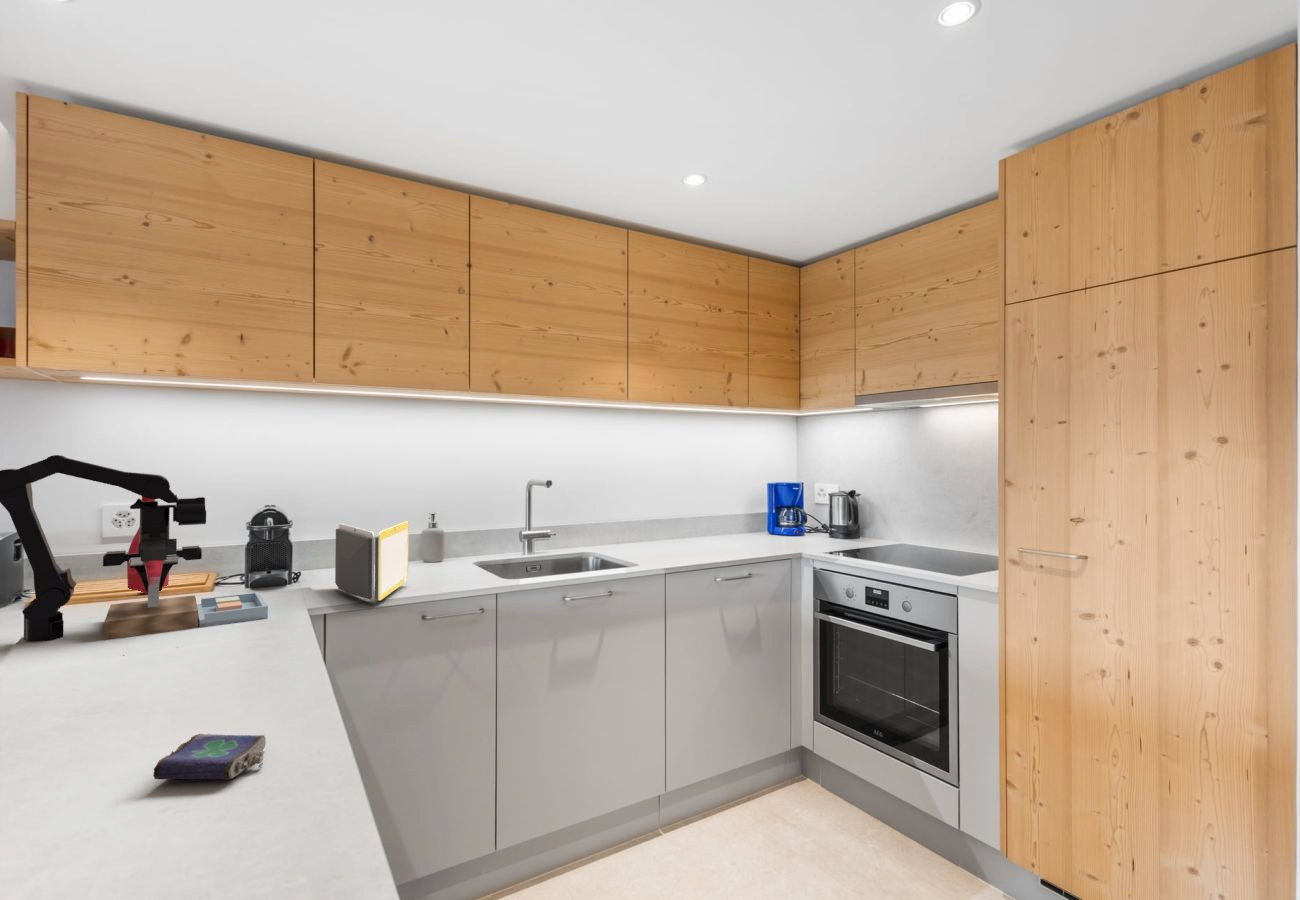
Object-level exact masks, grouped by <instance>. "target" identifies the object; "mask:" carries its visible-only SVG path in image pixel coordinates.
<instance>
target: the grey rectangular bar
mask: <svg viewBox="0 0 1300 900" xmlns="http://www.w3.org/2000/svg"><path fill="white" fill-rule="evenodd" d="M159 582H160V577H151V578H150V579H149V585H148V594H147V601H148V607H158V605H159V599H160V592H159Z"/></svg>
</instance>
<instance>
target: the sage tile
mask: <svg viewBox="0 0 1300 900" xmlns="http://www.w3.org/2000/svg"><path fill="white" fill-rule="evenodd" d="M238 601H240V599H239V597H238V596H234V597H225V598H216V599H215V609H216V612H217V604H221V603H229V602H238Z"/></svg>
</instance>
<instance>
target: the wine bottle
mask: <svg viewBox="0 0 1300 900" xmlns="http://www.w3.org/2000/svg"><path fill="white" fill-rule="evenodd" d="M141 500H142V501H143V502H144V501H156V499H149V498H146V497H144V496H141ZM139 540H140V526H139V527H138V529H137V530H136V533H135V535H134V536H133V539H132V540H131V543H130V545H129V549H128V552H127V554H130V553H139ZM126 562H127V563H126V567H127V569H126V576H127V589H128V588H129V589H132V590H138V591H141V592H143V593H144V594H143V595H147V594H146V593H148V592H146V589H145V587H144V584H143V582H142V579H141V577H140V575H139V574H138V572H137V571H136V569H135V568H129V565H130V563H129V561H126ZM162 565H163V561H158V560H155V561H149V562H146V569H147V575H148V582H149V579H150V578H151V577H161V571H162ZM169 581H170V571H169V572H168V574H167V577H166V579H165V582H164V584H163V587H164V586H167V585H168V586H169Z"/></svg>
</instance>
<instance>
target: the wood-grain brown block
mask: <svg viewBox="0 0 1300 900" xmlns="http://www.w3.org/2000/svg"><path fill="white" fill-rule="evenodd" d="M197 605H198V604H197V598H196V595H184V596H178V597H177V596H176V597H167V598H159V605H158V607H148V600H141V601H140V600H139V601H131V602H129V601H128V602H122V603H121V602H120V603H112V604H110V605H109V607H108V608H109V609H108V611H107V613H106V617H105V619H104V622H103V624H104V628H103V629H104V630H103V631H104V632H103V633H104V634H103V637H104V638H103V639H104V641H105V640H113V639H120V638H121V639H122V638H130V637H136V636H145V635H151V634H159V633H166V632H175V631H181V630H187V629H195V628H196V629H198V628H199V621H198V607H197Z"/></svg>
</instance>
